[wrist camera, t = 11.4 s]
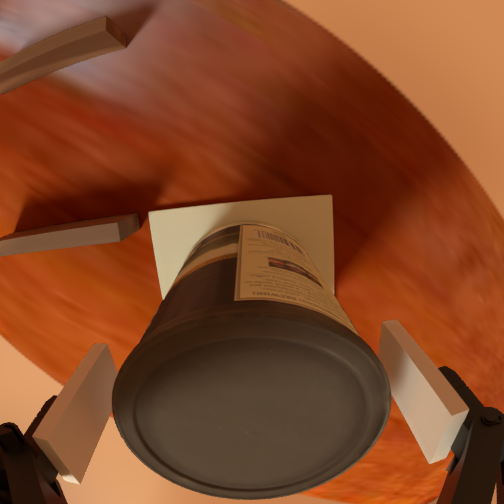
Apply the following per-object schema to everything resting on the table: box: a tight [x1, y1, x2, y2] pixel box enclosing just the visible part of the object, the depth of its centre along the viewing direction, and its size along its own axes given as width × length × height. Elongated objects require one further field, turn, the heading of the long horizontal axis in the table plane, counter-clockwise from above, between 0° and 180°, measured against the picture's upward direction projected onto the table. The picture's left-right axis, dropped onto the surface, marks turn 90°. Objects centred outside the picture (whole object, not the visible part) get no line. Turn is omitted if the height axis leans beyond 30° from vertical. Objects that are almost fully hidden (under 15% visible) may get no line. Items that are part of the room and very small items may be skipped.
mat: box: [148, 195, 334, 300], centre depth 24 cm, size 13×13×1 cm
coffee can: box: [112, 222, 391, 500], centre depth 17 cm, size 10×10×14 cm
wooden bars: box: [0, 16, 140, 256], centre depth 19 cm, size 15×13×4 cm
